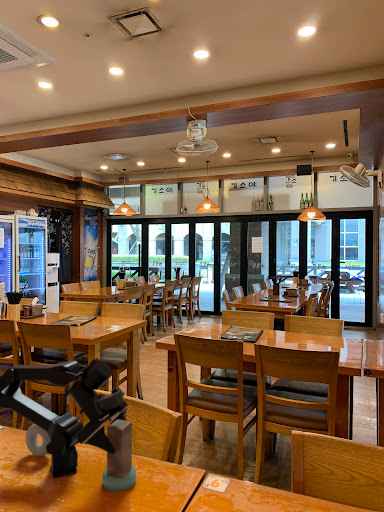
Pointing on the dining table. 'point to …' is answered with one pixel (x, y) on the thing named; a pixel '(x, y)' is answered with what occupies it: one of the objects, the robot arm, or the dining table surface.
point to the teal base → (119, 481)
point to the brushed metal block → (120, 448)
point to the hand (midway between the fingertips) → (122, 444)
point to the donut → (33, 442)
